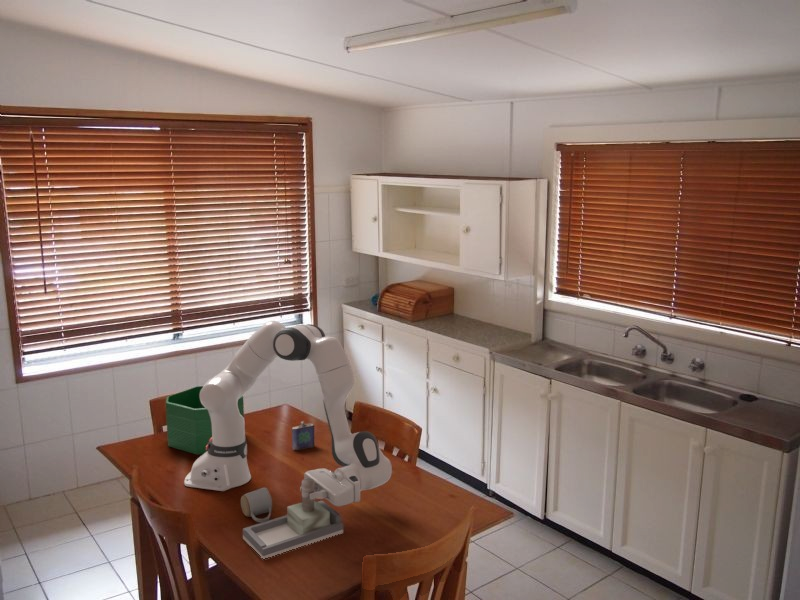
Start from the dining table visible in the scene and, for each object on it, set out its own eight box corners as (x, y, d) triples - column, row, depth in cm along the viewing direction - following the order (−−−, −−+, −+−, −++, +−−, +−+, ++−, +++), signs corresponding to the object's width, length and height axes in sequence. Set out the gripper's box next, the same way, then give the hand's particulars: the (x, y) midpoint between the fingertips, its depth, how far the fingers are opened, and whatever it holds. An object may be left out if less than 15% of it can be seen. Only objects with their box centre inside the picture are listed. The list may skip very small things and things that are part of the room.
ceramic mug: (239, 512, 222) (238, 489, 220) (263, 505, 226) (263, 483, 225) (252, 526, 213) (252, 503, 212) (277, 519, 218) (277, 496, 216)
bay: (263, 560, 195) (262, 543, 194) (242, 538, 206) (242, 522, 205) (343, 532, 210) (343, 517, 209) (320, 514, 221) (320, 498, 220)
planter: (207, 423, 298) (205, 382, 294) (253, 435, 285) (252, 393, 281) (158, 443, 276) (156, 399, 272) (206, 457, 263) (204, 411, 259)
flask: (293, 451, 269) (293, 424, 268) (290, 448, 272) (290, 422, 270) (315, 446, 274) (315, 420, 272) (312, 444, 277) (312, 418, 275)
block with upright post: (302, 537, 204) (302, 491, 201) (287, 523, 212) (286, 478, 209) (329, 528, 209) (329, 483, 206) (313, 515, 217) (313, 471, 214)
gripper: (328, 460, 223) (289, 470, 215) (362, 483, 207) (321, 496, 199) (328, 478, 225) (289, 489, 217) (362, 503, 208) (321, 516, 200)
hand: (305, 493), depth 208 cm, fingers closed on block with upright post, 4 cm apart
